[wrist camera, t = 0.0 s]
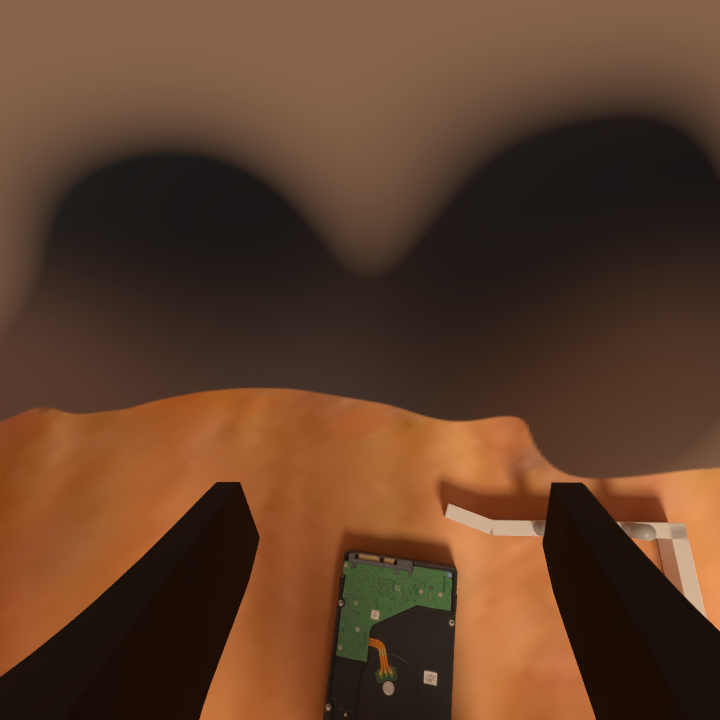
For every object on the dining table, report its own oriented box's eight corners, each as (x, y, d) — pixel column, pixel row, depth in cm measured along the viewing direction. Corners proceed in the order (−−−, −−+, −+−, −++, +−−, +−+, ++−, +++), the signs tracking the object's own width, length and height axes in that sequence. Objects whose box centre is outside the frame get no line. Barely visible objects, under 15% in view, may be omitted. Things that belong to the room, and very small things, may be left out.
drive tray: (745, 875, 29) (813, 955, 24) (461, 837, 32) (466, 901, 27) (664, 505, 37) (702, 505, 32) (443, 503, 40) (445, 503, 35)
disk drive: (449, 762, 34) (456, 562, 38) (451, 784, 31) (458, 567, 36) (327, 734, 36) (346, 548, 40) (318, 753, 33) (340, 551, 38)
